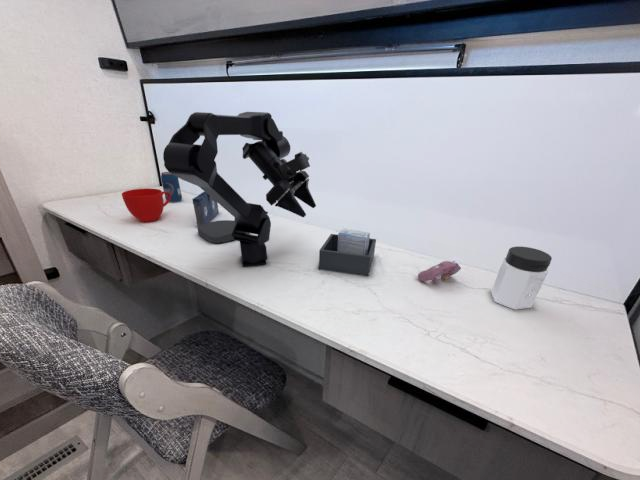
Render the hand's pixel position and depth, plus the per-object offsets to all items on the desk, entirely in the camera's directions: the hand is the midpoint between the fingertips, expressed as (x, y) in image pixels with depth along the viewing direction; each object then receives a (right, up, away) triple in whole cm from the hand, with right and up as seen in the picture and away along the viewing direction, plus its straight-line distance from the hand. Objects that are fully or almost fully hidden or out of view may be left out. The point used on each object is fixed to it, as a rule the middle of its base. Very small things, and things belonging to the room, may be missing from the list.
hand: (310, 211), depth 83 cm
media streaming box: (-30, -2, +21) cm, 37 cm away
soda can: (-64, +21, +56) cm, 88 cm away
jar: (+48, -24, -10) cm, 55 cm away
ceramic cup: (-61, +7, +34) cm, 70 cm away
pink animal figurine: (+34, -19, -3) cm, 39 cm away
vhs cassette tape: (-40, +7, +34) cm, 53 cm away
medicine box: (+12, -13, +4) cm, 18 cm away
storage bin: (+11, -13, +5) cm, 18 cm away
